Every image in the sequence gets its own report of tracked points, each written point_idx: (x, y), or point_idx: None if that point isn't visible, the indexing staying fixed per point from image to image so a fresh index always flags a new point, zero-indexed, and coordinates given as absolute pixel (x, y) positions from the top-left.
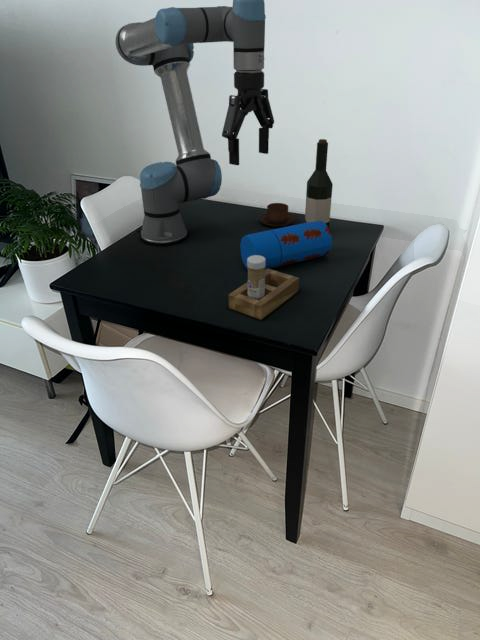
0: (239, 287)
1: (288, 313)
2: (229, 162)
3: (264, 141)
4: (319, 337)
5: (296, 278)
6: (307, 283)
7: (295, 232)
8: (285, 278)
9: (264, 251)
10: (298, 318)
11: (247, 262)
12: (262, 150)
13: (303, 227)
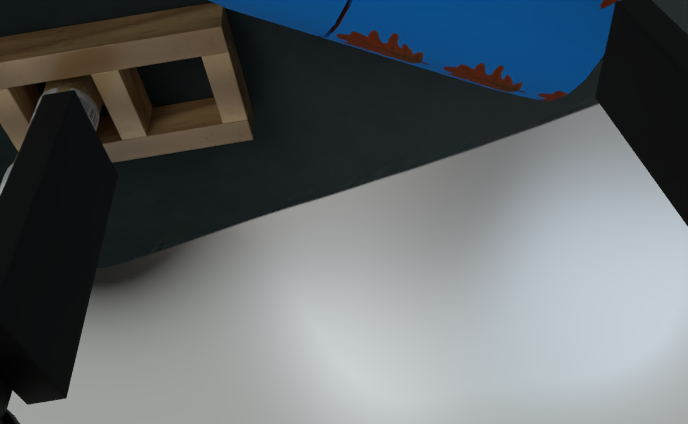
0: (31, 58)
1: (137, 166)
2: (39, 108)
3: (663, 147)
4: (128, 257)
5: (242, 138)
6: (312, 99)
7: (429, 50)
8: (219, 111)
9: (241, 12)
10: (143, 193)
11: (1, 183)
12: (618, 64)
13: (487, 52)
